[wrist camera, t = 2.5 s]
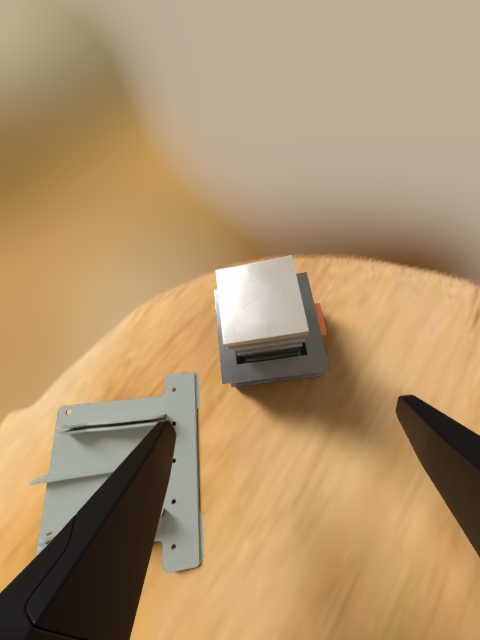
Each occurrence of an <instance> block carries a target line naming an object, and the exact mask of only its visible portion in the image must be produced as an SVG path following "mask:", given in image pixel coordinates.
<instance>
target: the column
mask: <svg viewBox="0 0 480 640" xmlns="http://www.w3.org/2000/svg"><path fill="white" fill-rule="evenodd" d="M216 275H217V285H218V296H219V306H220V317H221V327H222V338H223V345H225V346H226V349H227V350H228V349H231V350H232V352H233V353H237V355H238V356H242V357H244V358H246V361H247V363H250V362H257V361H264V360H272V359H279V358H286V357H293V356H298V355H299V354H298V350H299V348H300V347H302V346H303V345H302V343H305V338H307V337H309V336H308V332H309V329H308V325H307V320H306V316H305V311H304V307H303V302H302V298H301V293H300V289H299V284H298V280H297V276H296V271H295V267H294V262H293V258H292V255H289V256H285V257H280V258H275V259H270V260H265V261H261V262H256V263H251V264H246V265H241V266H237V267H232V268H227V269H222V270H217V271H216Z"/></svg>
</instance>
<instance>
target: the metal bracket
mask: <svg viewBox="0 0 480 640" xmlns="http://www.w3.org/2000/svg"><path fill="white" fill-rule="evenodd" d="M173 388H176V391H175V392H173V391H172V389H173ZM199 407H200V398H199V377H198V375H197V374H196V373H194V372H191V373H179V374H169V375H167V376H166V377H165V393H164V395H163V396H159V397H148V398H138V399H128V400H118V401H107V402H97V403H87V404H77V405H66V406H61V407H60V408H59V410H58V415H57V421H56V428H55V435H54V441H53V448H52V454H51V461H50V467H49V473H48V474H46V475H44V476H41V477H39V478H37V479H35V480H32V481H31V482H30V485H34V484H40V483H46V482H47V487H46V493H45V500H44V506H43V513H42V520H41V526H40V533H39V539H38V546H37V552H36V556H37V555H38V554H39V553H40V552H41V551H42V550H43V549H44V548H45V547H46V546H47V545H48V544H49V543H50V541H51V540H52V539H53V538H54V537H55V536H56V535H57V534H58V533H59V532H60V531H61V529H62V528H63V527H64V526H65V525H66V524H67V523H68V522H69V521H70V520H71V518H72V517H73V516H74V515H76V513H77V512H78V511H79V510H80V508H81V507H82V506H83V505H84V504H85V503H86V502H87V501H88V500H89V498H90V497H91V496H92V495H93V494H94V493H95V492H96V491H97V490H98V488H99V487H100V486H101V485H102V484H103V483H104V482H105V481H106V480H107V478H108V477H109V476H110V475H111V474H112V473H113V472H114V471H115V469H116V468H117V467H118V466H119V465H120V464H121V463H122V462H123V461H124V459H125V458H126V457H127V456H128V455H129V454H130V453H131V452H132V451H133V449H134V448H135V447H136V446H137V445H138V444H139V443H140V442H141V441H142V439H143V438H144V437H145V436H146V435H147V434H148V433H149V432H150V431H151V429H152V428H153V427H154V426H155V425H156V424H157V423H158V422H159V421H162V420H169V421H170V422H171V424H172V422H176V425H175V426H173V427H174V429H175V431H176V443H175V449H174V456H173V459H176V462H175V463H173V462H172V469H171V475H170V479H169V484H168V488H167V492H166V496H165V500H164V504H163V508H162V512H161V516H160V520H159V524H158V528H157V532H156V536H155V540H154V542H156V541H160V542H161V543H162V546H163V547H162V568H163V570H164V571H165V572H166V573H170V572H175V571H180V570H185V569H190V568H195V567H197V566H198V565H199V564H201V562H202V560H203V557H204V555H203V516H202V512H201V511H200V506H199V470H198V433H197V409H198V408H199ZM68 409H71V410H72V413H71V414H70V415H68V414H67V410H68ZM173 499H175V500H176V503H174V504H173V503H172V500H173ZM173 544H175V545H176V548H174V549H173V548H172V545H173Z"/></svg>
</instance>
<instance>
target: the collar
mask: <svg viewBox="0 0 480 640" xmlns="http://www.w3.org/2000/svg"><path fill="white" fill-rule="evenodd" d="M296 276H297V280H298V284H299V289H300V293H301V298H302V302H303V307H304V311H305V316H306V320H307V325H308V329H309V332H308V336H309V337H307V338H305V343H302V345H303V346H302V347H300V348H299V350H298V354H299V355H298V356H293V357H286V358H279V359H272V360H264V361H257V362H250V363H247V361H246V358H244V357H242V356H238V355H237V353H233V352H232V350H231V349H228V350H227V349H226V346H225V345H223V338H222V327H221V317H220V306H219V296H218V289H217V290H214V294H215V305H216V317H217V328H218V339H219V350H220V362H221V373H222V384H231V387H238V386H246V385H254V384H262V383H270V382H278V381H286V380H294V379H302V378H310V377H318V376H324V373H323V372H325V371H329V370H330V367H329V363H328V359H327V355H326V351H325V347H324V343H323V338H324V337H325V336H326V335H327V331H326V327H325V323H324V319H323V315H322V311H321V307H320V303H318V304H314V301H313V297H312V293H311V289H310V285H309V281H308V276H307V272H305V273H299V274H296Z"/></svg>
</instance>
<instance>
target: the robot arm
mask: <svg viewBox="0 0 480 640" xmlns="http://www.w3.org/2000/svg"><path fill="white" fill-rule="evenodd" d="M396 414H397V417H398V419H399V421H400V423H401V425H402V427H403V429H404V431H405V433H406V435H407V437H408V439H409V441H410V443H411V445H412V447H413V449H414V451H415V453H416V455H417V457H418V459H419V460H420V462H421V464H422V466H423V467H424V469H425V471H426V472H427V474H428V475H429V477H430V479H431V480H432V482H433V483H434V485H435V487H436V488H437V490H438V491H439V493H440V495H441V496H442V498H443V499H444V501H445V503H446V504H447V506H448V507H449V509H450V511H451V512H452V514H453V515H454V517H455V519H456V520H457V522H458V523H459V525H460V527H461V528H462V530H463V531H464V533H465V535H466V536H467V538H468V539H469V541H470V543H471V544H472V546H473V547H474V549H475V551H476V552H477V554H478V555H479V557H480V435H478V434H476V433H475V432H473V431H471V430H470V429H468V428H466V427H465V426H463V425H462V424H460V423H458V422H457V421H455V420H453V419H452V418H450V417H448V416H447V415H445V414H444V413H442V412H440V411H439V410H437V409H435V408H434V407H432V406H430V405H429V404H427V403H426V402H424V401H422V400H421V399H419V398H417V397H416V396H414V395H401V396H399V397H398V402H397V407H396ZM175 443H176V431H175V429H174V427H173V425H172V424H171V422H170V421H169V420H162V421H159V422H158V423H157V424H156V425H155V426H154V427H153V428H152V429H151V431H150V432H149V433H148V434H147V435H146V436H145V437H144V438H143V439H142V441H141V442H140V443H139V444H138V445H137V446H136V447H135V448H134V449H133V451H132V452H131V453H130V454H129V455H128V456H127V457H126V458H125V459H124V461H123V462H122V463H121V464H120V465H119V466H118V467H117V468H116V469H115V471H114V472H113V473H112V474H111V475H110V476H109V477H108V478H107V480H106V481H105V482H104V483H103V484H102V485H101V486H100V487H99V488H98V490H97V491H96V492H95V493H94V494H93V495H92V496H91V497H90V498H89V500H88V501H87V502H86V503H85V504H84V505H83V506H82V507H81V508H80V510H79V511H78V512H77V513H76V515H74V516H73V517H72V518H71V520H70V521H69V522H68V523H67V524H66V525H65V526H64V527H63V528H62V529H61V531H60V532H59V533H58V534H57V535H56V536H55V537H54V538H53V539H52V540H51V541H50V543H49V544H48V545H47V546H46V547H45V548H44V549H43V550H42V551H41V552H40V553H39V554H38V555H37V556H36V557H35V558H34V559H33V560H32V561H31V562H30V563H29V564H28V565H27V567H26V568H25V569H24V570H23V571H22V572H21V573H20V574H19V575H18V576H17V577H16V578H15V579H14V580H13V581H12V582H11V583H10V584H9V585H8V586H7V587H6V588H5V589H4V590H3V591H2V592H1V593H0V640H130V636H131V632H132V628H133V624H134V620H135V616H136V612H137V608H138V604H139V600H140V596H141V592H142V588H143V584H144V580H145V576H146V572H147V568H148V564H149V560H150V556H151V552H152V548H153V544H154V540H155V536H156V532H157V528H158V524H159V520H160V516H161V512H162V508H163V504H164V500H165V496H166V492H167V488H168V484H169V479H170V475H171V469H172V462H173V456H174V449H175Z"/></svg>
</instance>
